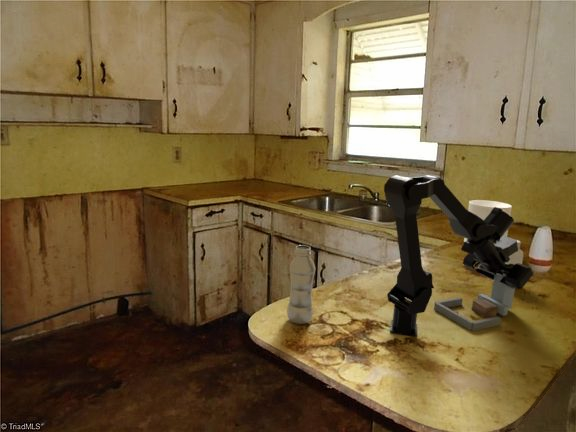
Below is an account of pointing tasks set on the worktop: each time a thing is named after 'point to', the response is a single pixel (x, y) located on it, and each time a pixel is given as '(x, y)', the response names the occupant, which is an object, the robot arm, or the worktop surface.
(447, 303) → the grey u-shaped bar
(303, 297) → the plastic bottle
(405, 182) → the robot arm
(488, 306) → the block
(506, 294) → the grey upright block
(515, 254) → the pill bottle
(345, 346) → the worktop surface
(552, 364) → the worktop surface
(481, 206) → the canister
